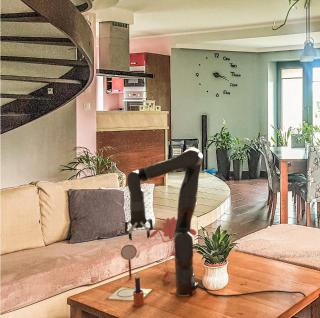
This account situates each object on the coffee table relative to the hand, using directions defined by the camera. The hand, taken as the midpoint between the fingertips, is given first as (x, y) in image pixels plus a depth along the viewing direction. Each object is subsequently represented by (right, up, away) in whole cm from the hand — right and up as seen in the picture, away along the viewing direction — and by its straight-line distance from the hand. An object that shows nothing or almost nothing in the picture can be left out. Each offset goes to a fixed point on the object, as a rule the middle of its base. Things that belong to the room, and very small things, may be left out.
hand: (139, 239), depth 229 cm
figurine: (+15, -26, +21) cm, 36 cm away
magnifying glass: (-10, -26, +20) cm, 35 cm away
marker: (+3, -29, -14) cm, 33 cm away
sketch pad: (-4, -29, -2) cm, 29 cm away
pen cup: (+3, -30, -14) cm, 33 cm away
